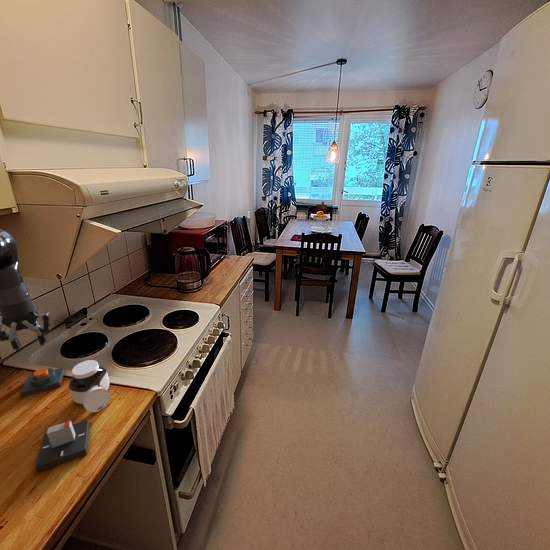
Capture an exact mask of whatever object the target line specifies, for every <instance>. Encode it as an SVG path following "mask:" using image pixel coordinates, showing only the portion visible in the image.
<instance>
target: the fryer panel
mask: <svg viewBox="0 0 550 550" xmlns="http://www.w3.org/2000/svg"><path fill="white" fill-rule="evenodd" d="M72 426H73V428H74V431H75V440H74V441H71V442H68V443H65V444H62V445H59V446H56V447H53V448H52V446H51V443H50V441H49V438H48V436H47V432H44V434H43V438H42V442H41V446H40V449H39V454H38V458H37V461H36V465H35V469H36V470H37V472H38V473H42V472H43V471H47V470H49V469H51V468H54V467H58V466H60V465H63V464H65V463H69V462H71V461H74V460H77V459H79V458H82V457H85V456H86V455H88V448H89V437H90V428H91V427H90V426H91V424H90V421H89V419H85V420H82V421H79V422H76V423H72Z"/></svg>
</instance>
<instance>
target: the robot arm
mask: <svg viewBox="0 0 550 550" xmlns="http://www.w3.org/2000/svg"><path fill="white" fill-rule="evenodd" d="M18 252H19V251H18V246H17V242H16V240H15V238H14V237H13V236H12V235H11V234H10V233H9V232H8V231H6V230H4V229H1V228H0V317H1V320H0V342H5V341H8V342H10V344H11V347H12V349H13V350H16V351H17V352H18V351H20V350H21V349H22V344H21V342H20V339H19V337H18V336H17V335H18V332H19V331H23V330H30V331H31V332H33V333H35V334H36V336H37V339H38V343H39V345H40V346H44V345H45V344H46V342H47V337H46V334H45V333H49V331H50V329H51V318H50V317H51V315H50V314H51V313H50V312H49V311H45V312H44V313H38V312H37V311H36V309H35V307H34V306H35V305H34V304H33V301H32V298H31V294H30V292H29V288H28V286H27V284H26V283H25V280H24V278H23V275H22V272H21V270H20V267H19V253H18ZM38 319H40V321H42V322H43V327H42V326H41V325H40V324H39V322H38V321H37V320H38ZM4 326H5V327H8V328H9V332H8V333H9V334H8V333H7V332H6V330H5V329H4Z"/></svg>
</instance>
